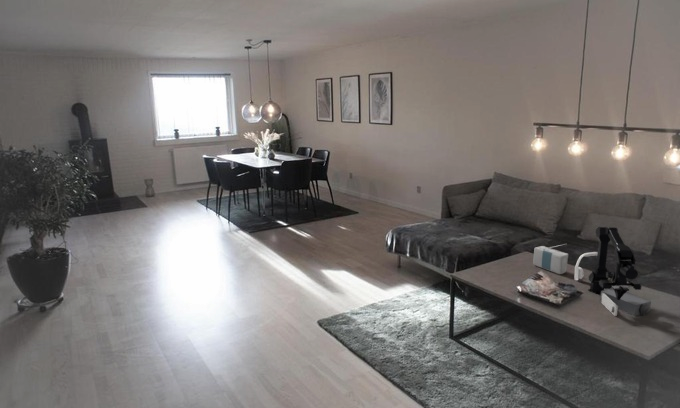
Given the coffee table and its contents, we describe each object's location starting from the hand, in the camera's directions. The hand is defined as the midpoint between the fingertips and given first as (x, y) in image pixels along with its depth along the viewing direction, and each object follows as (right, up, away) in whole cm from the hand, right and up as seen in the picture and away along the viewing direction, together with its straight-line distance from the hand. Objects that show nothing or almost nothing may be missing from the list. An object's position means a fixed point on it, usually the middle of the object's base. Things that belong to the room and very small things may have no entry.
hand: (618, 299), depth 244 cm
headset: (+9, +3, +45) cm, 46 cm away
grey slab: (+8, -5, +7) cm, 12 cm away
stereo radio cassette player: (-8, +7, +63) cm, 63 cm away
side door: (-3, -6, +4) cm, 8 cm away
